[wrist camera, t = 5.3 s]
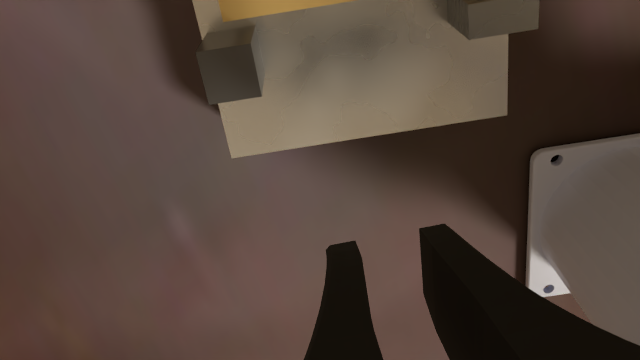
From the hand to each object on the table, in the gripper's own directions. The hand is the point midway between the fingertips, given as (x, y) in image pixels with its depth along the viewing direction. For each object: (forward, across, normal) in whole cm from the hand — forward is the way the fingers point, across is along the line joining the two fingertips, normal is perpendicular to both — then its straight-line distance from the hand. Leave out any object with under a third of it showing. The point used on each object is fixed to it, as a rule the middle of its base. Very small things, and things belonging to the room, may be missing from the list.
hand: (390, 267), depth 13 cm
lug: (+8, +3, -4) cm, 9 cm away
